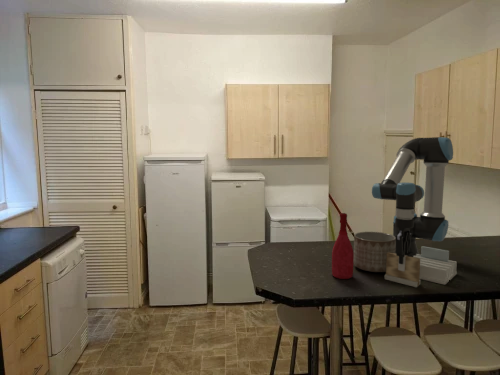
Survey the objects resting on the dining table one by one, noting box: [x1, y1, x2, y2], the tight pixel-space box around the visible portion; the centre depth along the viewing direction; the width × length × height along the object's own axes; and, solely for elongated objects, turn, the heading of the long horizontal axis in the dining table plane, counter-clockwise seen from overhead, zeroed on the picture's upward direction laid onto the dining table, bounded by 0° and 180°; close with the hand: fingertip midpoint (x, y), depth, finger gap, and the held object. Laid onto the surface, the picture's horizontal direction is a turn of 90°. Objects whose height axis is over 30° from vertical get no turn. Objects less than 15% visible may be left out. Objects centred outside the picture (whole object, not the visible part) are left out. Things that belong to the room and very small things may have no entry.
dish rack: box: [413, 245, 458, 285], centre depth 166 cm, size 18×18×11 cm
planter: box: [353, 231, 396, 273], centre depth 175 cm, size 19×19×16 cm
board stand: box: [384, 273, 421, 288], centre depth 158 cm, size 14×5×2 cm, turn 46°
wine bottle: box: [331, 212, 354, 280], centre depth 164 cm, size 10×10×30 cm
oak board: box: [385, 252, 420, 287], centre depth 157 cm, size 14×2×12 cm, turn 46°
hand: (402, 269), depth 157 cm, fingers closed on oak board, 2 cm apart
